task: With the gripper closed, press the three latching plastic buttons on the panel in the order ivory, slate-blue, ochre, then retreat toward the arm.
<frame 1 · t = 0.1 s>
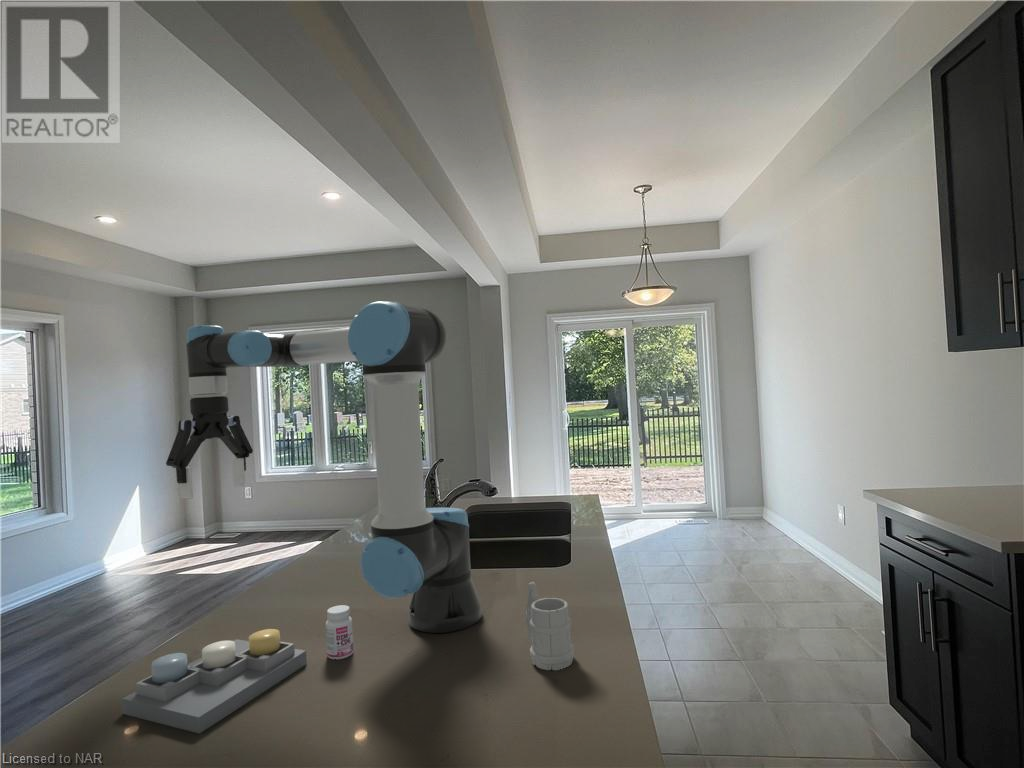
hand: (214, 492, 130), 28 cm above the worktop, fingers open, 13 cm apart
ivory button: (219, 654, 99), point 6 cm above the worktop, slide at 0.0 cm
pill bottle: (340, 655, 109), on the worktop
ochre button: (264, 641, 103), point 6 cm above the worktop, slide at 0.0 cm
slate button: (169, 667, 95), point 6 cm above the worktop, slide at 0.0 cm
panel: (220, 687, 99), on the worktop
mug: (546, 657, 104), on the worktop
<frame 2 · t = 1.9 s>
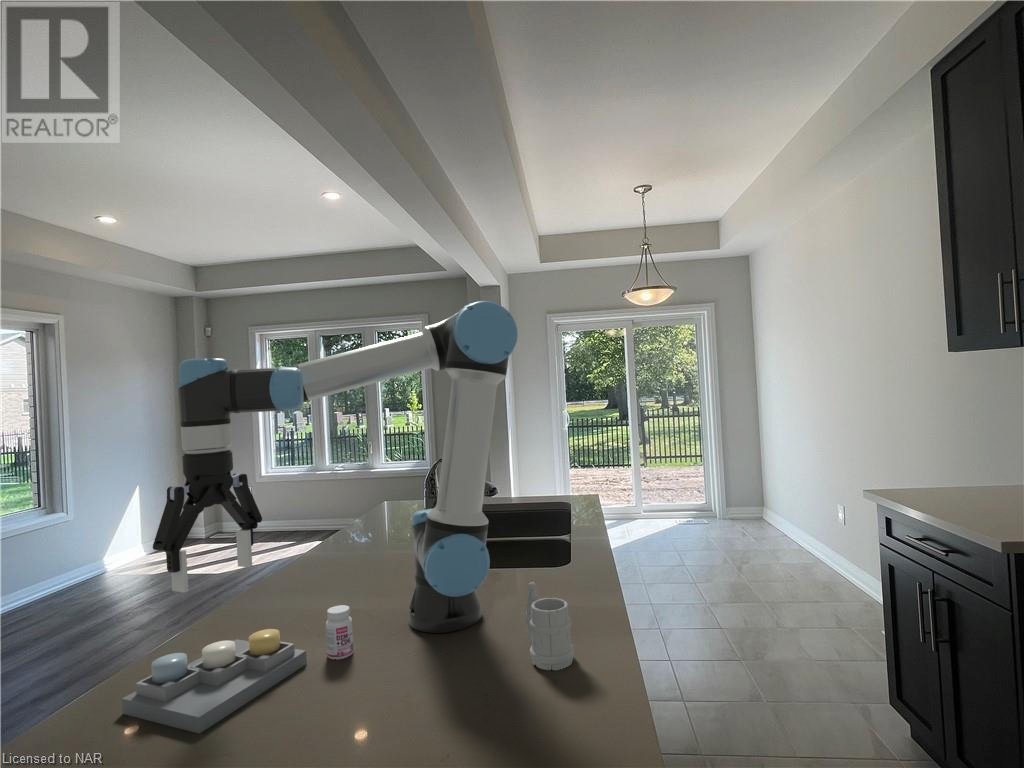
hand: (214, 578, 100), 18 cm above the worktop, fingers open, 12 cm apart
nothing on the worktop moved.
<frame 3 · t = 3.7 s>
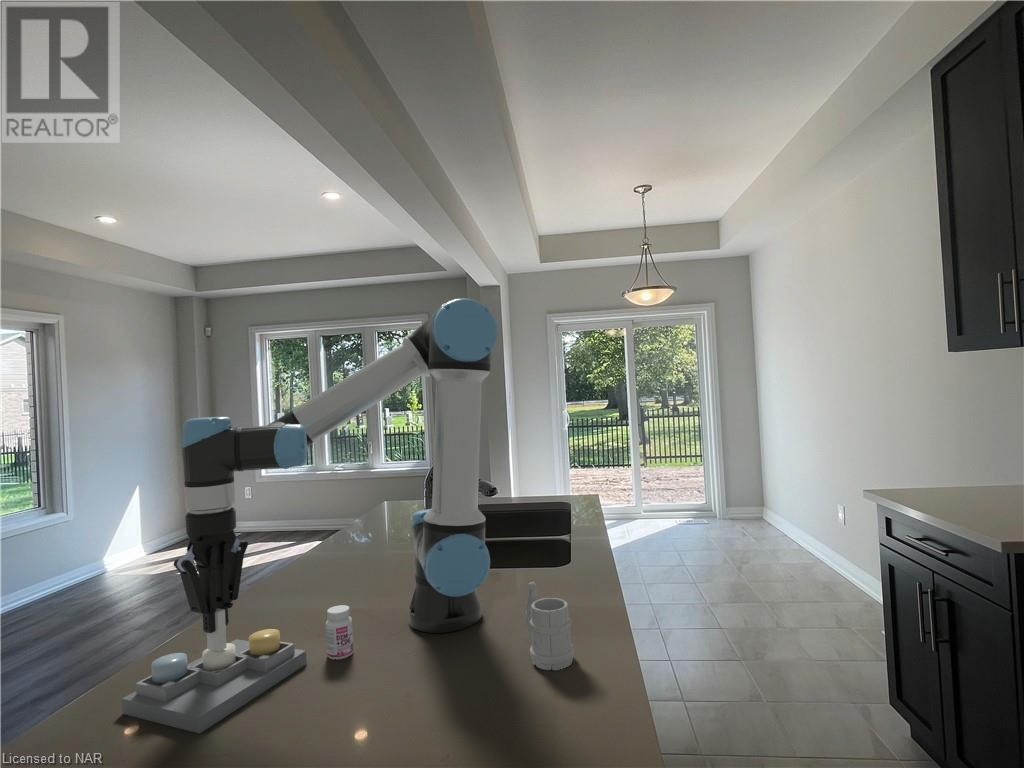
hand: (217, 648, 99), 7 cm above the worktop, fingers closed
ivory button: (219, 656, 99), point 5 cm above the worktop, slide at 0.5 cm, touching gripper
everything else where it was.
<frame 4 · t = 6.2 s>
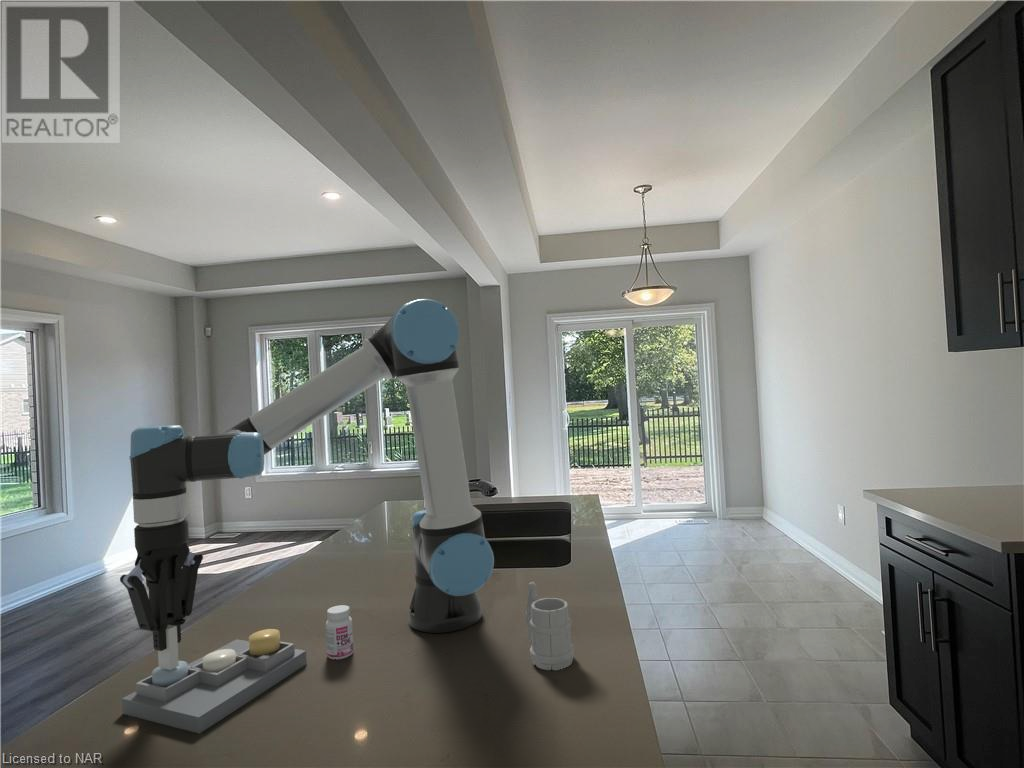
hand: (168, 666, 95), 6 cm above the worktop, fingers closed
ivory button: (219, 662, 99), point 4 cm above the worktop, slide at 1.5 cm
slate button: (170, 675, 95), point 4 cm above the worktop, slide at 1.3 cm, touching gripper
everything else where it was.
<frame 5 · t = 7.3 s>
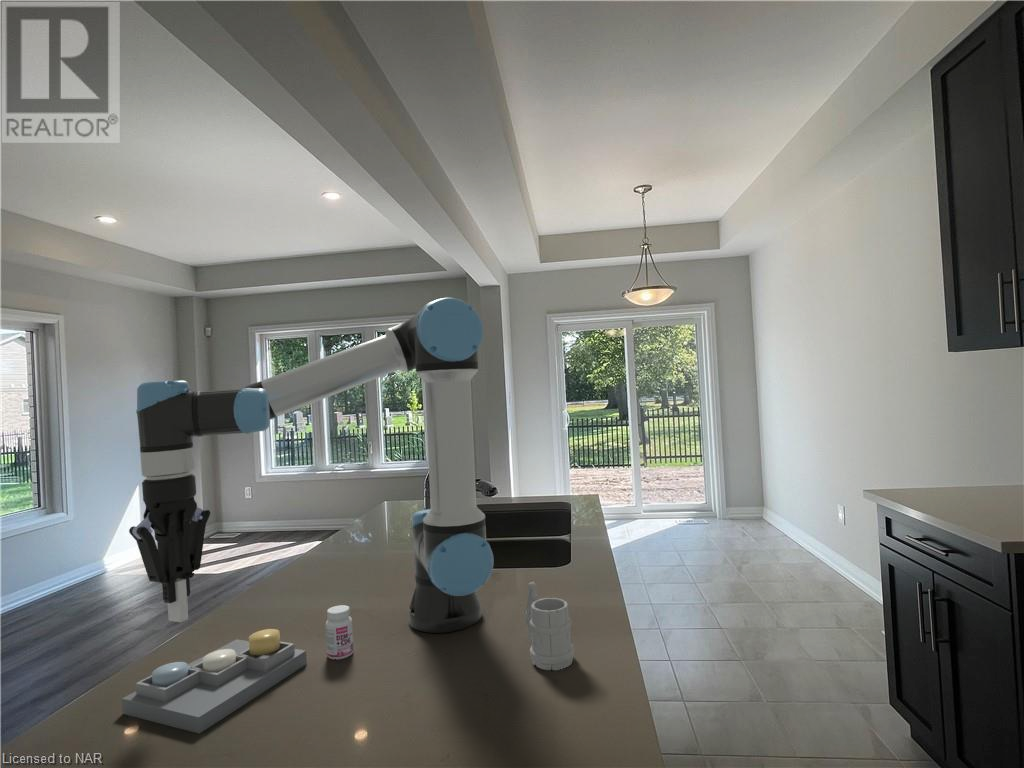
hand: (178, 619, 96), 13 cm above the worktop, fingers closed
slate button: (170, 676, 95), point 4 cm above the worktop, slide at 1.5 cm
everything else where it was.
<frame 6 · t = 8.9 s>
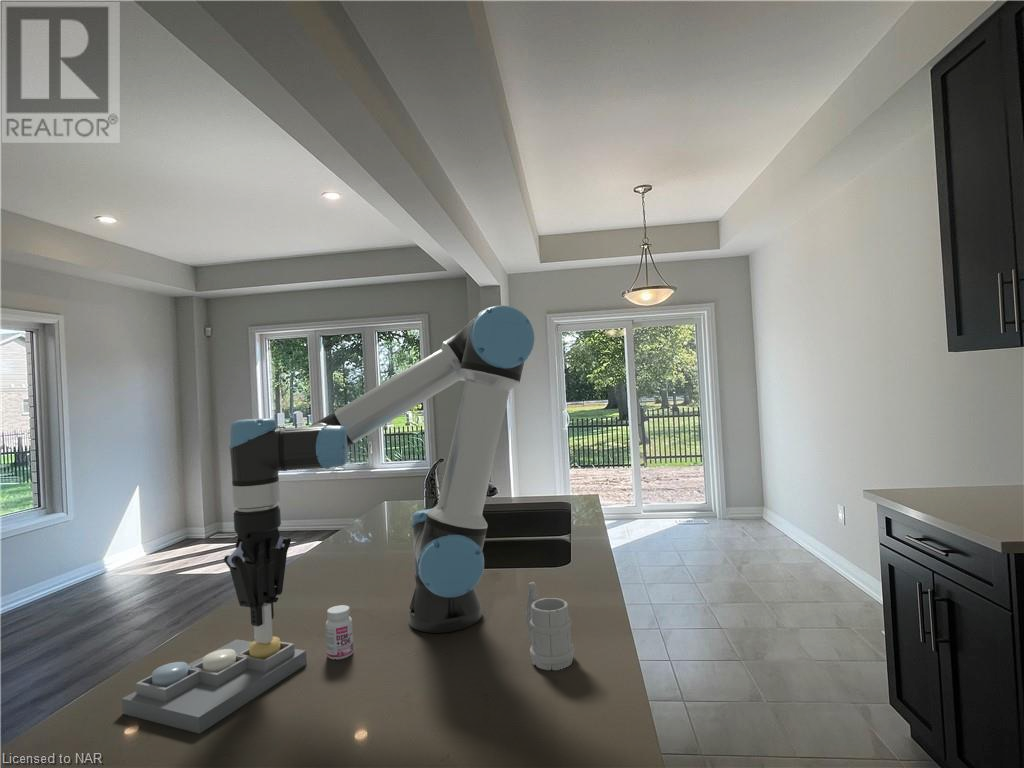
hand: (263, 641, 103), 6 cm above the worktop, fingers closed
ochre button: (265, 649, 103), point 4 cm above the worktop, slide at 1.3 cm, touching gripper
everything else where it was.
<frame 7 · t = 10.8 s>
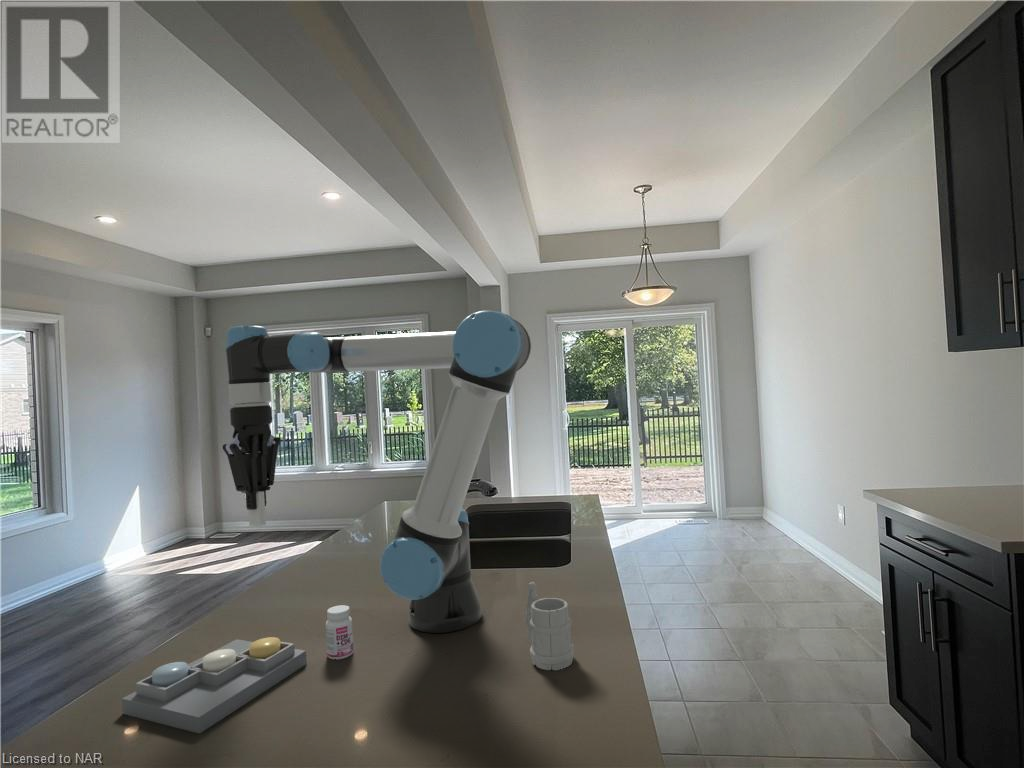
hand: (257, 524, 116), 23 cm above the worktop, fingers closed
ochre button: (265, 650, 103), point 4 cm above the worktop, slide at 1.5 cm
everything else where it was.
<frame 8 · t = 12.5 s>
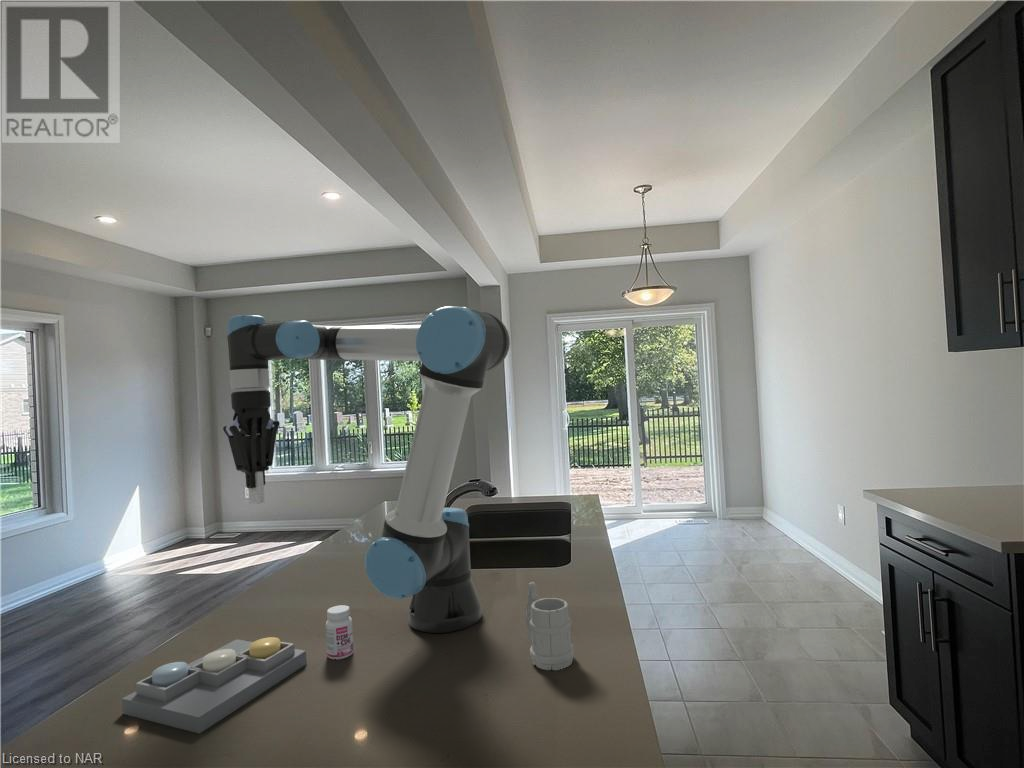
hand: (256, 502, 123), 26 cm above the worktop, fingers closed
nothing on the worktop moved.
at the end: ivory button slide at 1.5 cm; slate button slide at 1.5 cm; ochre button slide at 1.5 cm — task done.
